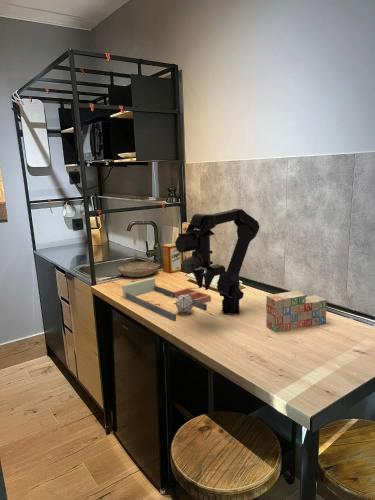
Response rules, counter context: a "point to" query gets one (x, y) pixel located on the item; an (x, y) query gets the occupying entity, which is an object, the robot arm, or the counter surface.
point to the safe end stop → (139, 287)
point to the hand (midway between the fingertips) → (203, 288)
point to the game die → (184, 303)
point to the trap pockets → (194, 295)
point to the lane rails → (158, 309)
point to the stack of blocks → (294, 311)
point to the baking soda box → (171, 258)
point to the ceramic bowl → (138, 269)
